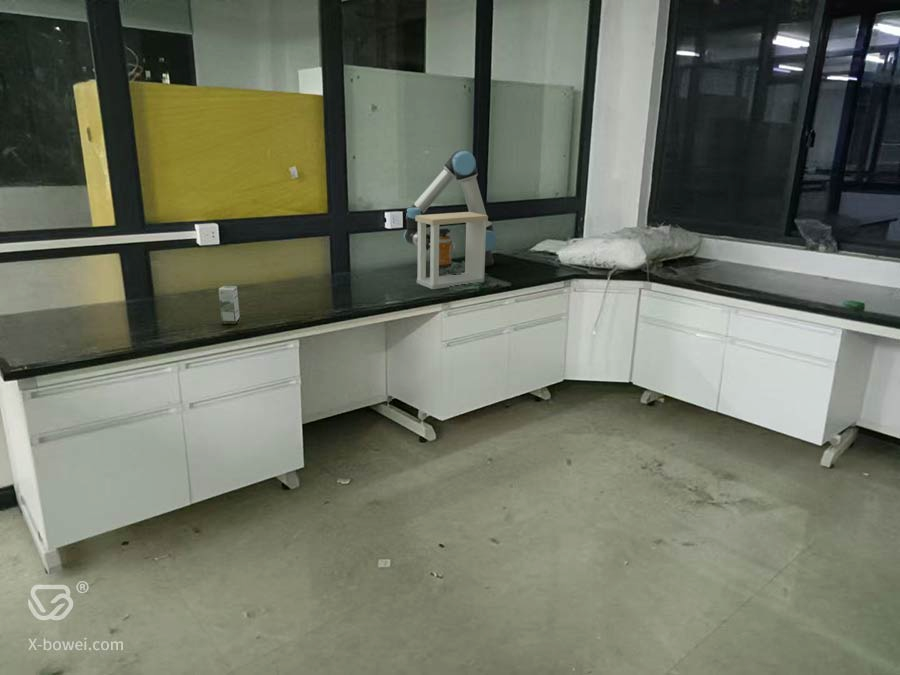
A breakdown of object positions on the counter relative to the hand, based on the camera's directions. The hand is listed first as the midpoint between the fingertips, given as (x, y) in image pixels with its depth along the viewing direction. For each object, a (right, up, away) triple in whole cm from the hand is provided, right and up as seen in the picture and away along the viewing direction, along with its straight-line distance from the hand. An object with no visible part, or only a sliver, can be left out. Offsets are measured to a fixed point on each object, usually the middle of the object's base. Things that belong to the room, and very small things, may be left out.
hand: (445, 247), depth 317 cm
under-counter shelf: (+3, -17, +4) cm, 18 cm away
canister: (-3, -9, +7) cm, 12 cm away
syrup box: (-84, -40, -66) cm, 114 cm away
